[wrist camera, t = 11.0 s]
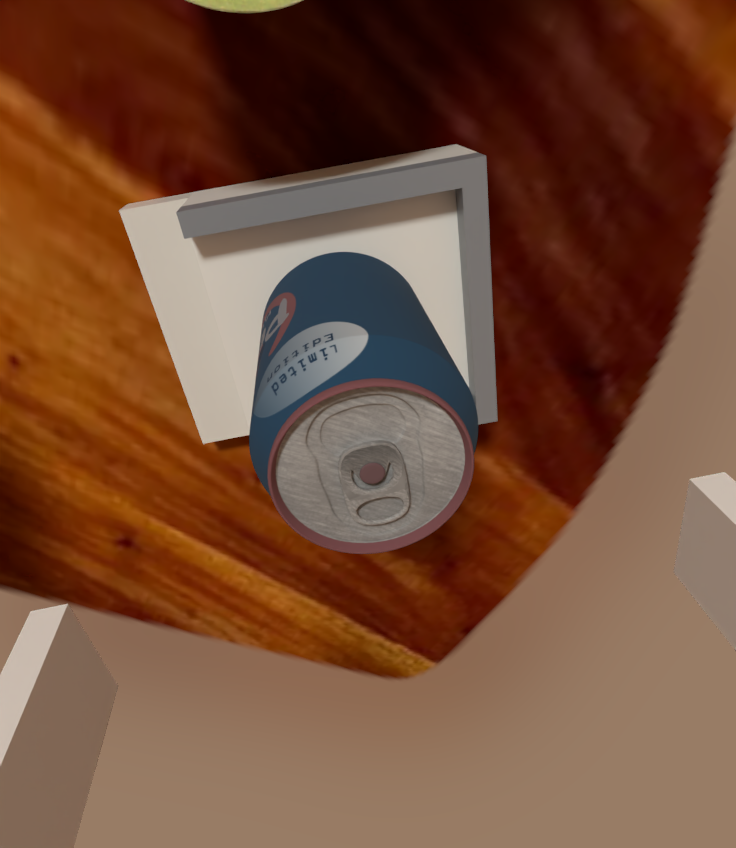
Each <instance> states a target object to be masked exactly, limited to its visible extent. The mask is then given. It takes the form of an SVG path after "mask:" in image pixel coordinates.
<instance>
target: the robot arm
mask: <svg viewBox="0 0 736 848" xmlns="http://www.w3.org/2000/svg"><path fill="white" fill-rule="evenodd" d="M674 573H675V575H676V576H677V577H678V579H679V580H680V581H681V582H682V584H683V585H684V586H685V587H686V589H687V590H688V591H689V592H690V594H691V595H692V596H693V597H694V599H695V600H696V601H697V603H698V604H699V605H700V606H701V608H702V609H703V610H704V611H705V613H706V614H707V615H708V616H709V618H710V619H711V620H712V622H713V623H714V624H715V625H716V627H717V628H718V629H719V630H720V632H721V633H722V634H723V635H724V637H725V638H726V639H727V641H728V642H729V643H730V644H731V646H732V647H733V648H734V650H735V651H736V482H735V481H734V480H733V479H732V478H731V477H730V476H729V475H727V474H726V473H725V472H723V473H717V474H713V475H708V476H702V477H697V478H692V479H690V480H689V485H688V491H687V497H686V502H685V508H684V514H683V520H682V527H681V532H680V538H679V544H678V549H677V555H676V561H675V567H674ZM117 689H118V685H117V683H116V681H115V680H114V678H113V677H112V675H111V673H110V672H109V670H108V668H107V667H106V665H105V664H104V662H103V660H102V658H101V657H100V655H99V654H98V652H97V650H96V649H95V647H94V645H93V644H92V642H91V641H90V639H89V637H88V636H87V634H86V632H85V631H84V629H83V627H82V626H81V624H80V623H79V621H78V619H77V618H76V616H75V615H74V613H73V611H72V609H71V608H70V606H69V605H68V604H64V605H59V606H54V607H49V608H44V609H39V610H34V611H31V612H30V614H29V616H28V618H27V620H26V622H25V624H24V626H23V628H22V630H21V632H20V634H19V636H18V639H17V641H16V643H15V645H14V647H13V649H12V651H11V653H10V655H9V657H8V659H7V661H6V664H5V666H4V668H3V670H2V672H1V674H0V848H74V844H75V841H76V837H77V833H78V830H79V826H80V823H81V819H82V815H83V811H84V808H85V804H86V801H87V797H88V794H89V790H90V786H91V783H92V779H93V776H94V772H95V768H96V765H97V761H98V757H99V754H100V750H101V747H102V743H103V739H104V736H105V732H106V729H107V725H108V721H109V717H110V714H111V710H112V707H113V703H114V700H115V696H116V692H117Z"/></svg>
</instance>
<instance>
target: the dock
mask: <svg viewBox="0 0 736 848" xmlns="http://www.w3.org/2000/svg"><path fill="white" fill-rule="evenodd" d="M119 212H120V215H121V217H122V220H123V223H124V226H125V229H126V231H127V234H128V237H129V240H130V242H131V245H132V248H133V251H134V254H135V256H136V259H137V262H138V265H139V267H140V270H141V273H142V276H143V279H144V281H145V284H146V287H147V290H148V292H149V295H150V298H151V301H152V304H153V306H154V309H155V312H156V315H157V317H158V320H159V323H160V326H161V329H162V331H163V334H164V337H165V340H166V342H167V345H168V348H169V351H170V354H171V356H172V359H173V362H174V365H175V367H176V370H177V373H178V376H179V379H180V381H181V384H182V387H183V390H184V392H185V395H186V398H187V401H188V404H189V406H190V409H191V412H192V415H193V417H194V420H195V423H196V426H197V429H198V431H199V434H200V437H201V440H202V442H203V444H204V443H210V442H215V441H220V440H225V439H231V438H236V437H241V436H246V435H249V433H250V423H251V415H252V406H253V398H254V389H255V380H256V372H257V363H258V355H259V346H260V338H261V329H262V320H263V315H264V311H265V307H266V304H267V302H268V300H269V297H270V295H271V294H272V292H273V290H274V289H275V287H276V286H277V284H278V283H279V282H280V281H281V280H282V279H283V277H284V276H285V275H286V274H288V273H289V272H290V271H291V270H292V269H294V268H295V267H296V266H298V265H299V264H301V263H303V262H305V261H307V260H309V259H311V258H313V257H316V256H319V255H323V254H327V253H333V252H355V253H361V254H365V255H369V256H372V257H374V258H377V259H379V260H381V261H383V262H385V263H387V264H388V265H390V266H391V267H393V268H394V269H395V270H396V271H398V272H399V273H400V274H401V275H402V276H403V277H404V278H405V279H406V281H407V282H408V283H409V284H410V286H411V287H412V289H413V291H414V292H415V294H416V296H417V298H418V299H419V301H420V303H421V305H422V306H423V308H424V310H425V312H426V314H427V315H428V317H429V319H430V321H431V322H432V324H433V326H434V328H435V329H436V331H437V333H438V335H439V336H440V338H441V340H442V342H443V343H444V345H445V347H446V349H447V350H448V352H449V354H450V356H451V357H452V359H453V361H454V363H455V364H456V366H457V368H458V370H459V371H460V373H461V375H462V377H463V378H464V380H465V382H466V384H467V385H468V387H469V389H470V391H471V393H472V396H473V399H474V402H475V405H476V409H477V415H478V425H479V424H485V423H490V422H495V421H497V398H496V374H495V351H494V328H493V304H492V281H491V258H490V234H489V211H488V188H487V164H486V155H483V154H480V153H478V152H475V151H473V150H470V149H467V148H465V147H462V146H460V145H457V144H455V145H449V146H444V147H438V148H433V149H428V150H422V151H417V152H411V153H406V154H400V155H395V156H389V157H384V158H378V159H373V160H367V161H362V162H356V163H351V164H345V165H340V166H334V167H329V168H323V169H318V170H312V171H307V172H301V173H296V174H290V175H285V176H279V177H274V178H268V179H263V180H257V181H252V182H246V183H241V184H235V185H230V186H224V187H219V188H213V189H208V190H202V191H197V192H191V193H186V194H180V195H175V196H169V197H164V198H158V199H153V200H147V201H142V202H136V203H131V204H127V205H126V206H124V207H123V208H122V209H120V210H119Z"/></svg>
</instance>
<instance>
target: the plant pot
mask: <svg viewBox="0 0 736 848" xmlns="http://www.w3.org/2000/svg"><path fill="white" fill-rule="evenodd" d="M185 1H188V2H190V3H193V4H196V5H199V6H202V7H205V8H208V9H213V10H218V11H223V12H232V13H260V12H267V11H273V10H278V9H283V8H286V7H289V6H292V5H295V4H297V3H299V2H301V1H304V0H185Z"/></svg>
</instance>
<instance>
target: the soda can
mask: <svg viewBox="0 0 736 848" xmlns="http://www.w3.org/2000/svg"><path fill="white" fill-rule="evenodd" d="M477 438H478V415H477V409H476V405H475V402H474V399H473V396H472V393H471V391H470V389H469V387H468V385H467V384H466V382H465V380H464V378H463V377H462V375H461V373H460V371H459V370H458V368H457V366H456V364H455V363H454V361H453V359H452V357H451V356H450V354H449V352H448V350H447V349H446V347H445V345H444V343H443V342H442V340H441V338H440V336H439V335H438V333H437V331H436V329H435V328H434V326H433V324H432V322H431V321H430V319H429V317H428V315H427V314H426V312H425V310H424V308H423V306H422V305H421V303H420V301H419V299H418V298H417V296H416V294H415V292H414V291H413V289H412V287H411V286H410V284H409V283H408V282H407V281H406V279H405V278H404V277H403V276H402V275H401V274H400V273H399V272H398V271H396V270H395V269H394V268H393V267H391V266H390V265H388V264H387V263H385V262H383V261H381V260H379V259H377V258H374V257H372V256H369V255H365V254H361V253H355V252H333V253H327V254H323V255H319V256H316V257H313V258H311V259H309V260H307V261H305V262H303V263H301V264H299V265H298V266H296V267H295V268H294V269H292V270H291V271H290V272H289V273H288V274H286V275H285V276H284V277H283V279H282V280H281V281H280V282H279V283H278V284H277V286H276V287H275V289H274V290H273V292H272V294H271V295H270V297H269V300H268V302H267V304H266V307H265V311H264V315H263V320H262V329H261V338H260V346H259V355H258V363H257V372H256V380H255V389H254V398H253V406H252V415H251V423H250V433H249V447H250V454H251V459H252V462H253V466H254V469H255V471H256V473H257V476H258V477H259V479H260V481H261V483H262V484H263V486H264V488H265V489H266V490H267V492H268V493H269V494H270V495H271V498H272V500H273V503H274V505H275V507H276V509H277V510H278V512H279V514H280V515H281V516H282V518H283V519H284V520H285V522H286V523H287V524H288V525H289V526H290V527H291V528H292V529H293V530H294V531H296V532H297V533H298V534H300V535H301V536H302V537H304V538H305V539H307V540H309V541H311V542H313V543H315V544H317V545H319V546H322V547H324V548H327V549H331V550H335V551H339V552H344V553H353V554H372V553H381V552H387V551H392V550H396V549H399V548H402V547H405V546H408V545H411V544H413V543H415V542H417V541H419V540H421V539H423V538H425V537H426V536H428V535H430V534H431V533H433V532H434V531H436V530H437V529H438V528H439V527H441V526H442V525H443V524H444V523H445V522H446V521H447V520H448V519H449V518H450V517H451V516H452V515H453V514H454V513H455V512H456V510H457V509H458V508H459V506H460V505H461V503H462V501H463V500H464V498H465V496H466V494H467V492H468V489H469V487H470V484H471V481H472V477H473V471H474V452H475V449H476V444H477Z"/></svg>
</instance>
